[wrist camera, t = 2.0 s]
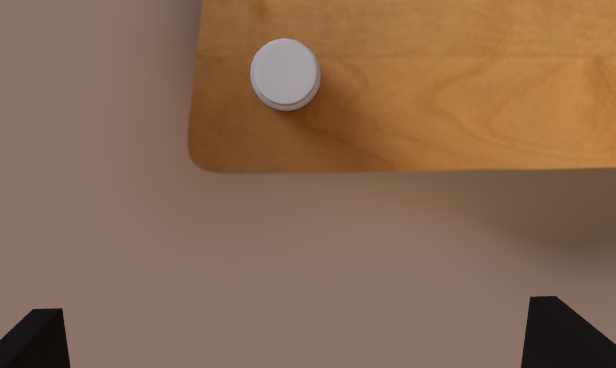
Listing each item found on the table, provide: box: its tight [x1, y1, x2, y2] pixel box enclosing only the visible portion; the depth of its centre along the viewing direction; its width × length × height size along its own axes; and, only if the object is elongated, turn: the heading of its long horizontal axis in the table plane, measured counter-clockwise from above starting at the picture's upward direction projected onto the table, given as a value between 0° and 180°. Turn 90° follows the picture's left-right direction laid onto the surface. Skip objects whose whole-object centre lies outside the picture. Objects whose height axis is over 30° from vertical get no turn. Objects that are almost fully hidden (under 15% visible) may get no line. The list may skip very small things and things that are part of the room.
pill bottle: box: [250, 39, 321, 111], centre depth 32 cm, size 5×5×8 cm
